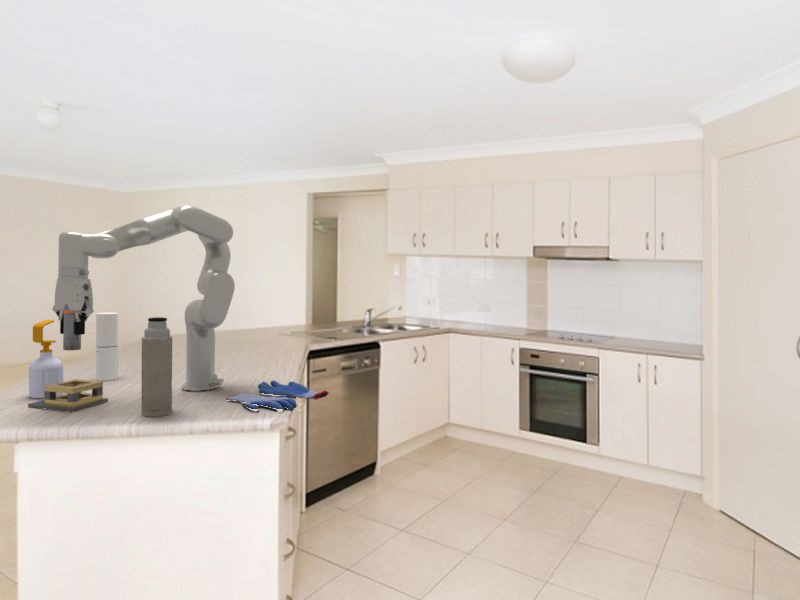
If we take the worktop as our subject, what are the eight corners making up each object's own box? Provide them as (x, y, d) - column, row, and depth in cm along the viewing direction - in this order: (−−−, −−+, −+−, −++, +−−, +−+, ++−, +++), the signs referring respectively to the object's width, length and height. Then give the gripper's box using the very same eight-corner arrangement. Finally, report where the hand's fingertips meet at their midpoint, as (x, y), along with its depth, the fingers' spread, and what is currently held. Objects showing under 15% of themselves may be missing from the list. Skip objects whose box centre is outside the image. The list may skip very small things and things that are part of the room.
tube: (85, 348, 152) (85, 303, 151) (71, 350, 147) (72, 303, 147) (72, 347, 153) (73, 302, 153) (58, 349, 149) (59, 303, 148)
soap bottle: (69, 393, 165) (69, 320, 163) (42, 400, 156) (41, 322, 155) (50, 391, 168) (50, 318, 166) (22, 397, 159) (21, 320, 158)
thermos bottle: (136, 416, 141) (136, 318, 139) (148, 409, 149) (148, 316, 147) (165, 417, 141) (166, 319, 140) (176, 409, 149) (176, 316, 148)
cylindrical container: (107, 381, 184) (107, 314, 183) (91, 380, 186) (91, 313, 185) (122, 377, 191) (122, 313, 190) (106, 376, 193) (106, 312, 192)
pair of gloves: (276, 417, 145) (276, 405, 145) (211, 405, 156) (211, 394, 156) (335, 395, 174) (335, 385, 174) (277, 386, 185) (277, 377, 185)
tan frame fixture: (107, 401, 156) (107, 381, 156) (71, 412, 144) (70, 389, 143) (67, 397, 160) (67, 377, 160) (28, 407, 148) (27, 385, 147)
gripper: (106, 274, 151) (105, 334, 152) (62, 273, 155) (61, 331, 156) (85, 274, 144) (84, 337, 144) (39, 272, 148) (38, 333, 149)
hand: (72, 333), depth 150 cm, fingers closed on tube, 4 cm apart
